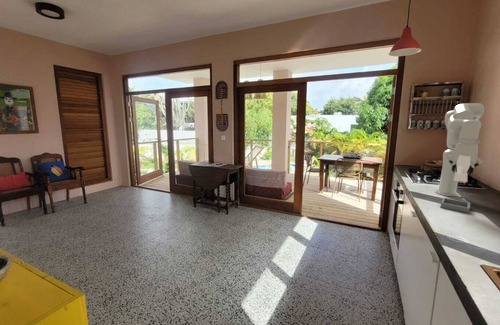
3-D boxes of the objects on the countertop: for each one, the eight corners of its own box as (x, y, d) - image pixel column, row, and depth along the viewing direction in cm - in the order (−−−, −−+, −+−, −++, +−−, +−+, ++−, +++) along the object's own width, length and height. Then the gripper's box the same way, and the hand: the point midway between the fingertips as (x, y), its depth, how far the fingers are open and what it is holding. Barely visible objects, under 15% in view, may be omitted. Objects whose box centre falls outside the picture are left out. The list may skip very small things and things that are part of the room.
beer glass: (462, 182, 132) (467, 156, 130) (449, 179, 139) (453, 154, 136) (471, 181, 134) (476, 155, 131) (457, 178, 141) (462, 154, 138)
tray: (442, 202, 149) (443, 197, 148) (469, 207, 140) (470, 202, 140) (440, 207, 139) (441, 202, 139) (468, 213, 131) (469, 208, 130)
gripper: (488, 143, 129) (482, 174, 133) (448, 140, 141) (442, 169, 144) (489, 143, 124) (482, 176, 127) (447, 141, 136) (441, 171, 139)
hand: (461, 172), depth 136 cm, fingers closed on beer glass, 6 cm apart
